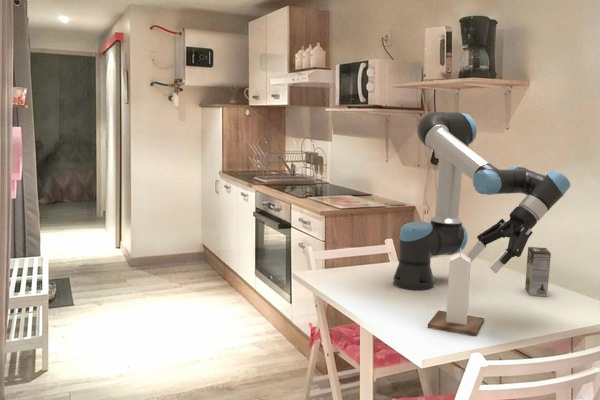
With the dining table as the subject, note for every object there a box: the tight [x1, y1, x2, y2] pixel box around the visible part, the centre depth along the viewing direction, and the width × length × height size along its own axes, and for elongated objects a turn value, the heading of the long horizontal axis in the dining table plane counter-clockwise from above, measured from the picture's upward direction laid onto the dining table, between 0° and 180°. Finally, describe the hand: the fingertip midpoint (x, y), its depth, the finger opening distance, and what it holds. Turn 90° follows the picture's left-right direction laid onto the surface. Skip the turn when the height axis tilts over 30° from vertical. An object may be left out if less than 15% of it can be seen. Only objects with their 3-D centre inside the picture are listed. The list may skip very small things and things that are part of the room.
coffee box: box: [524, 246, 552, 298], centre depth 202 cm, size 9×6×16 cm
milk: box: [446, 251, 472, 325], centre depth 167 cm, size 6×6×22 cm
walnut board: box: [427, 310, 485, 337], centre depth 168 cm, size 14×14×1 cm
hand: (479, 264), depth 167 cm, fingers open, 13 cm apart
